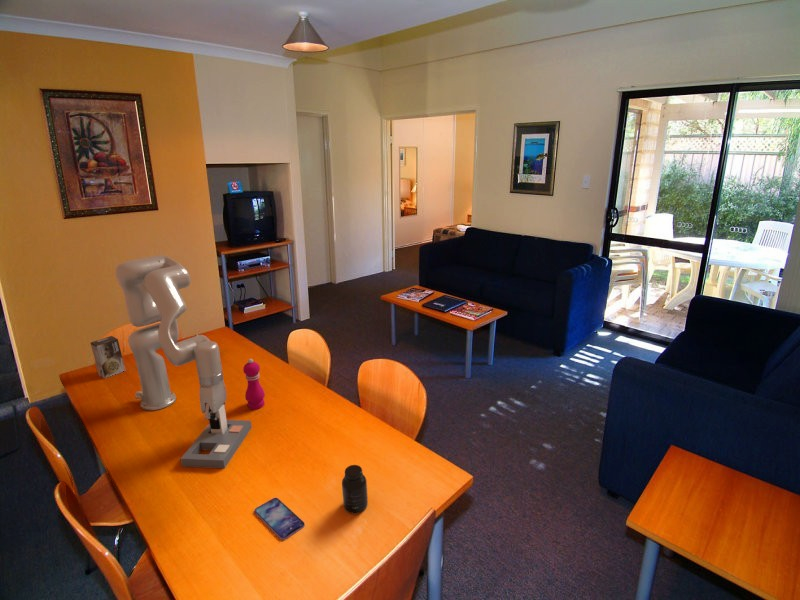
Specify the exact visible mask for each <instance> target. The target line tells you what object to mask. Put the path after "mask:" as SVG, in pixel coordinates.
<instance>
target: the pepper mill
mask: <svg viewBox="0 0 800 600" xmlns="http://www.w3.org/2000/svg"><path fill="white" fill-rule="evenodd" d="M260 369H261V368H260V364H259V363H258V362H256V361H254V360H253V359H252V358H249V359H248V361H247V363H245V364H244V366H243V368H242V370H243V374H244V375H245V380H246V381H247V388H246V391H245V400H246V401H247V407H248V409H250V410H259V409H261V408H263V407H264V406H265V403H266V402H265V399H264V398H265V394H266V393H265V391H264V389H263V387H262V385H261V384H260V381H259V380H260V379H259V378H260Z"/></svg>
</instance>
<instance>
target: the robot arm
mask: <svg viewBox="0 0 800 600" xmlns="http://www.w3.org/2000/svg"><path fill="white" fill-rule="evenodd" d="M115 277H116V280H117V282H118V284H119V286H120V288H121V290H122V292H123V294H124V300H125V305H126V311H127V315H128V319H129V323H130V324H131V325H132V326H134V327H135V328H136V327H137V328H139V329H136V330H134V331H132V332H131V333H130V334H129V336H128V345H129V348H130V349H131V351H132V355H133V357H134V359H135V360H134V361H135V365H136V369H137V373H138V376H139V382H140V387H141V391H140V390H137V391H136V392H135V399H139V400H141V401H140V408H141V409H143V410H146V411H158V410H162V409H165V408H167V407H169V406H171V405H172V404H174V403H175V402H176V400H177V395H176V394H175V393H174V392H171V387H170V382H169V375H168V372H167V366H166V362H165V358H164V357H163V356H162V355H161V354H159V353H158V352H156V351H157V350H160V349H162V351H163V352H164V355H165V357H166V358H167V360H168V361H169V363H170V364H172V365H173V366H176V367H180V366H182V365H183V366H184V365H186V364H189V363H191V362H194V361H195V363H196V364H195V365H196V370H197V371H196V372H197V376H198V381H199V402H200V404H199V405H200V409H201V413H202V414H204V419H205V420H206V419H207V420H208V422H209V424H210V427H211V429H220V423H219V418H217V411H218V410H219V409H220V407H221V406H222V405H224V406H225V405H226V401H227V398H228V397H227V389H226V385H225V381H224V373H223V366H222V362H221V360H222V359H221V354H220V353H221V352H220V347H219V345H218V343H217V342H216V341H212V340H210V338H208V337H207V336H206V335H204V334H199V335H198V336H195V335H194V336H195V337H194V336H192V337H189V338H186V339H183V340H181V341H178V340H179V337H180V333H179V332H180V331H179V325H178V319H179V318H180V317H181V316H182V315H183V314H184V313H185V312H186V311H187V309H188V306H187V303H186V302H185V300H184V297H183V296H182V294H181V292H180V291H179V290H181V289H185V288H188V287H189V286H190V285H191V280H192V279H191V275H190V273H189V271H188V270H187V268H186V267H184V265H182V264H181V263H180V262H179V261H176V260H175V259H173V258H171V257H169V256H167V255H165V254H158V255H152V256H146V257H141V258H136V259H131V260H128V261H123V262H120V263H119V264H118V265H116V267H115ZM140 327H142V328H140ZM225 407H226V406H225ZM211 413H214V416H213V415H211Z"/></svg>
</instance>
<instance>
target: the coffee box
mask: <svg viewBox="0 0 800 600" xmlns="http://www.w3.org/2000/svg"><path fill="white" fill-rule="evenodd" d="M90 346H91V347H90V348H91V350H92V354H93V358H94V361H95V366H96V369H97V373H98V376H99V377H101V376H102V377H101V378H103V379H104V378H105V379H107V377H108V378H110V376H111V377H113V376H116V375H119V374H121V373H124V372H126V367H125V363H124V358H123V354H122V352H121V351H122V350H121V347H120V342H119V339H118V338H117V337H115V336H112V335H110V336H107V337H104V338H100V339H97V340H94V341H92V342H90ZM123 371H124V372H123ZM115 374H116V375H115ZM112 375H113V376H112Z"/></svg>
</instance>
